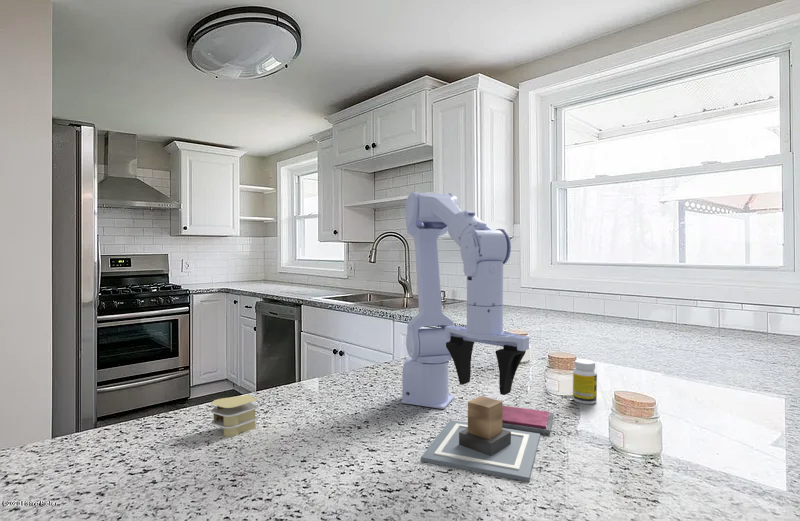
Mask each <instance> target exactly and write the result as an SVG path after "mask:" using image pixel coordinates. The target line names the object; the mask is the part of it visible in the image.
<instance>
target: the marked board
mask: <svg viewBox="0 0 800 521" xmlns="http://www.w3.org/2000/svg"><path fill="white" fill-rule="evenodd" d="M467 428H468V421H467V422H465V421H458V420H452V419H449V421H448V422H447V423H446V425H445V426H444V427H443V428H442V430H441V431H440V432H439V433H438V434H437V436H436V437H435V438H434V440H432V442H431V443H430V445H429V446H428V448H427V449H426V450H425V451H424V453H423V454H422V455H421V457H420V461H421V462H423V463H424V462H425V463H430V464H435V465H439V466H443V467H444V466H445V467H450V468H451V467H452V468H454V469H455V468H456V469H461V470H465V471H471V472H476V473H482V474H487V475H491V476H492V475H493V476H495V477H502V478H505V479H506V478H507V479H512V480H518V481H523V482H527V483H529V482H530V479H531V475H532V473H533V467H534V463H535V459H536V455H537V452H538V447H539V443H540V441H541V440H540V439H541V434H539V433H532V432H526V431H519V430H513V429H506V428H502V429H504V430H507V431H510V432H511V444H510V445H508V446H507V447H505V448H503V449H502V450H500V451H499V452H497V453H496V454H494V455H492V456H489V455H486V454H483V453H481V452H478V451H475V450H472V449H470V448H467V447H464V446H462V445H459V432H461V431H463V430H465V429H467Z"/></svg>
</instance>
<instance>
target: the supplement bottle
mask: <svg viewBox="0 0 800 521" xmlns="http://www.w3.org/2000/svg"><path fill="white" fill-rule="evenodd" d="M574 367H575V368H574V369H573V370H572V400H573V401H574V402H577V403H580V404H586V405H591V404H596V403H597V400H598V398H597V397H598V394H597V391H598V386H597V385H598V381H597V380H598V374H597V371H596V361H594V360H592V359H591V360H590V359H584V358H583V359H575V361H574Z"/></svg>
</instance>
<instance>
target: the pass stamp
mask: <svg viewBox="0 0 800 521" xmlns="http://www.w3.org/2000/svg"><path fill="white" fill-rule="evenodd" d="M502 405H503V401H502V400H498V399H495V398H491V397H487V396H483V395H480V396H477V397H475V398H474V399H471V400H469V401H467V423H468V428H467V429H465V430H463V431H461V432H459V445H462V446H464V447H467V448H470V449H472V450H475V451H478V452H481V453H483V454H486V455H489V456H492V455H494V454H496V453H497V452H499V451H500V450H502V449H503V448H505V447H507V446H508V445H510V444H511V432H510V431H507V430H504V429H502Z"/></svg>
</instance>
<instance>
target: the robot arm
mask: <svg viewBox="0 0 800 521" xmlns="http://www.w3.org/2000/svg"><path fill="white" fill-rule="evenodd" d="M404 210H405V224H406V225H405V226H406V232H407V234H408V235H410V236H412V237H413V241H414V251H415V252H414V254H415V267H416V283H417V284H416V285H417V299H418V314H416V315H415V316H414V317H413V318H412V319H411V320H409V322H408V323H407V327H406V340H405V343H406V351H407V354H408V356H409V357H407V358H406V359H405V360H404V363H403V367H402V375H401V377H402V381H401V382H402V383H401V384H402V385H401V386H402V388H401V390H402V395H401V397H402V398H401V401H400V403H402V404H406V405H413V406H421V407H425V408H426V407H427V408H435V409H439V410H440V409H443V410H444V409H446V408H447V407H448V405H449V404H450V403H451V402H452V401H453V400H454V398H455V395H454V394H449V390H450V389H449V386H450V384H449V376H450V375H449V372H450V371H449V368H450V367H449V362H451V361H453V364H454V366H455V367H454V368H455V370H456V374H457V378H458V382H459V385H462V386H464V385H467V384H469V383H470V382H471V372H472V370H471V369H472V368H471V367H472V365H471V364H472V355H473V350H474V345H475V343H478V344H485V345H491V346H496V347H503V348H500V349H497V350H495V356H496V360H497V365H498V371H499V372H498V373H499V374H498V375H499V377H498V378H499V381H498V382H499V383H498V384H499V385H498V386H499V388H498V389H499V394H500V395H503V396H505V395H508V394H510V393H511V391H512V386H513V382H514V378H515V376H516V374H517V373H516V372H517V370H518V368H519V365H520V364H521V361H522V360H523V359H524V356H525V354H526V352H527V351H528V350H530V336H526V335H522V334H517V333H513V332H509V331H505V330H503V329H504V324H503V323H504V321H503V320H504V319H503V318H504V265H505V264H506V263H507V262H508V261H509V259H510V257H511V252H512V250H511V249H512V244H511V239H510V236H509V234H508V233H507V232H506V230H505V229H503V228H497V229H492V228H490V227H489V226H488V224H487V223H486V222H485V221H483V220H481V219H480V218H479V217H478V216H477V215H476V212H475V211H474V210H465V209H464V211H462V210H461V208H460V207H459V206H458V197H457V196H456V195H454V194H453V193H451V192H450V193H437V192H436V193H434V192H433V193H432V192H427V193H426V192H416V191H412V192H410V193H409V194H408V196H407V198H406V202H405V208H404ZM447 233H448V235H449V236H450V238H451V239H452V240H453V241H454V242H455V243H456V244H457V245H458V247H460V256H461V260H462V262H463V263H462V264H463V272H464V276H466V326H459V325H455V322H454V320H452V319H451V318H450V317H449V316H447V315H446V314H444V313H443V306H442V305H443V304H442V293H441V291H442V290H441V279H440V278H441V277H440V262H439V252H438V251H439V250H438V249H439V248H438V239H439V238H440V237H441V236H444V235H446V234H447ZM422 327H431V328H422ZM432 327H433V328H432Z"/></svg>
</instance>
